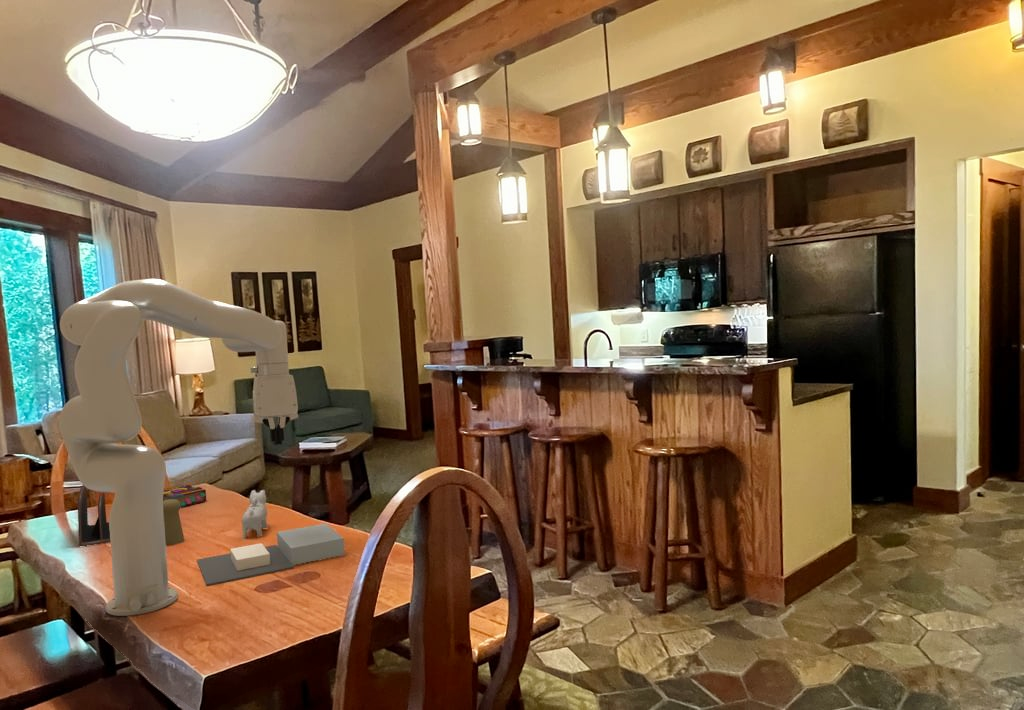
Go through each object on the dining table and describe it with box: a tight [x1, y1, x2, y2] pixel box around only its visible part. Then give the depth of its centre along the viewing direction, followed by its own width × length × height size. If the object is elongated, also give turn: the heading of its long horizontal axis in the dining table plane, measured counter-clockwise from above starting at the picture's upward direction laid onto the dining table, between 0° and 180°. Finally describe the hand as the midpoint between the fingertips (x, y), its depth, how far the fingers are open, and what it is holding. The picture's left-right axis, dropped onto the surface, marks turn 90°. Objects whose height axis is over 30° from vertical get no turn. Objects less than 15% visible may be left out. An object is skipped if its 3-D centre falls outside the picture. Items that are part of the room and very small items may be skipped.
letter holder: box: [77, 484, 111, 547], centre depth 193 cm, size 10×20×14 cm, turn 27°
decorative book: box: [163, 484, 207, 509], centre depth 227 cm, size 11×16×5 cm
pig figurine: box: [241, 489, 269, 539], centre depth 188 cm, size 5×13×11 cm, turn 9°
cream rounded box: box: [230, 542, 270, 571], centre depth 162 cm, size 10×7×2 cm
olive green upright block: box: [163, 499, 185, 547], centre depth 183 cm, size 6×6×11 cm
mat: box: [196, 544, 295, 587], centre depth 161 cm, size 20×18×1 cm
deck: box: [276, 522, 346, 566], centre depth 169 cm, size 16×12×4 cm
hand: (277, 444), depth 175 cm, fingers closed
